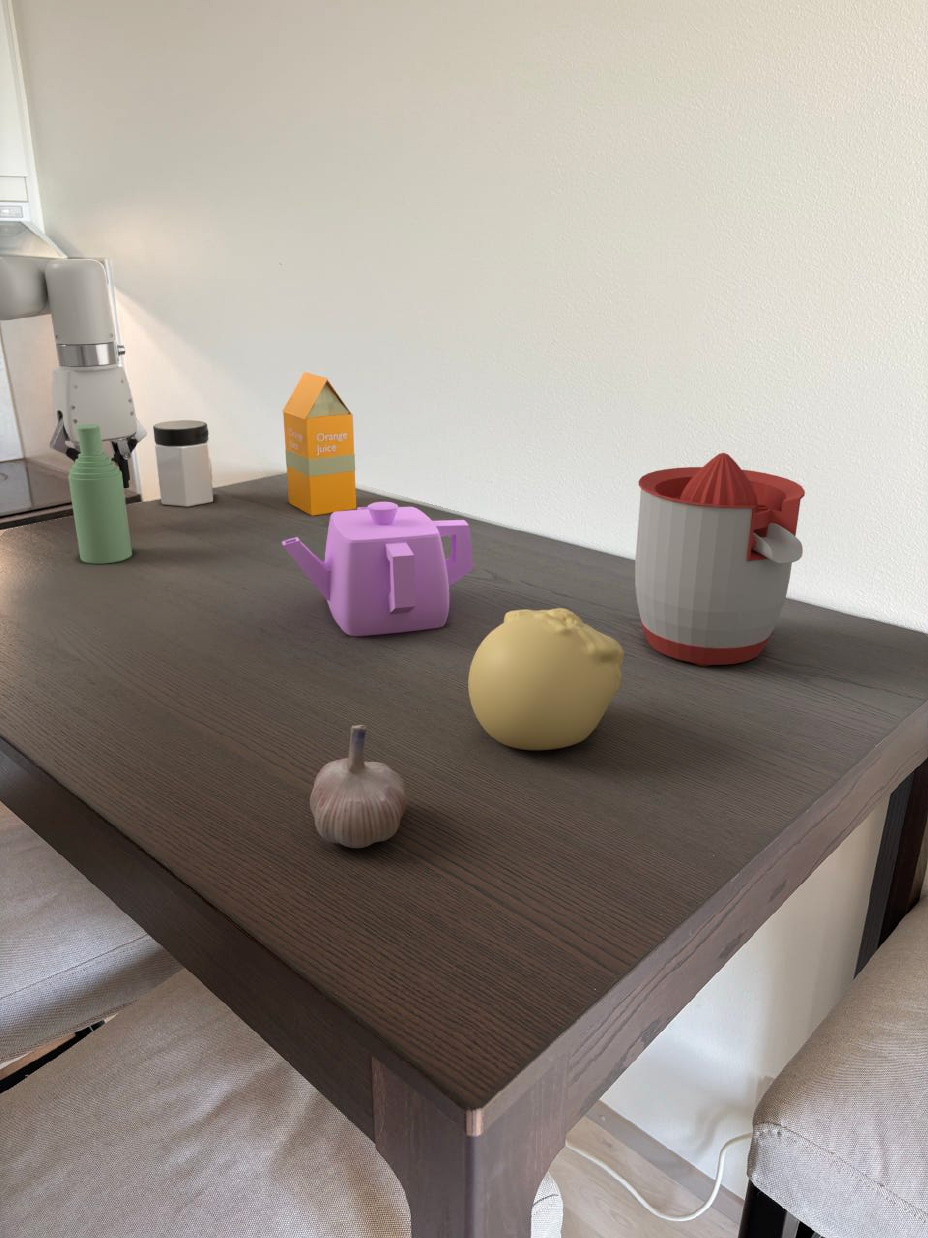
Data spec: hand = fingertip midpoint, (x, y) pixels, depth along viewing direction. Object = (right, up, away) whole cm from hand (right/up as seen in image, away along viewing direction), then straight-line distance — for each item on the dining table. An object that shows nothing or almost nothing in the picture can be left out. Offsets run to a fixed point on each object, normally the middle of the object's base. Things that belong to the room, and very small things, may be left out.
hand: (106, 488), depth 135 cm
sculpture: (+57, -28, -54) cm, 84 cm away
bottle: (+4, -10, -10) cm, 15 cm away
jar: (+7, 0, +17) cm, 18 cm away
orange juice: (+28, -1, +14) cm, 32 cm away
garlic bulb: (+43, -33, -68) cm, 87 cm away
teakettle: (+41, -18, -28) cm, 53 cm away
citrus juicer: (+76, -22, -38) cm, 87 cm away
